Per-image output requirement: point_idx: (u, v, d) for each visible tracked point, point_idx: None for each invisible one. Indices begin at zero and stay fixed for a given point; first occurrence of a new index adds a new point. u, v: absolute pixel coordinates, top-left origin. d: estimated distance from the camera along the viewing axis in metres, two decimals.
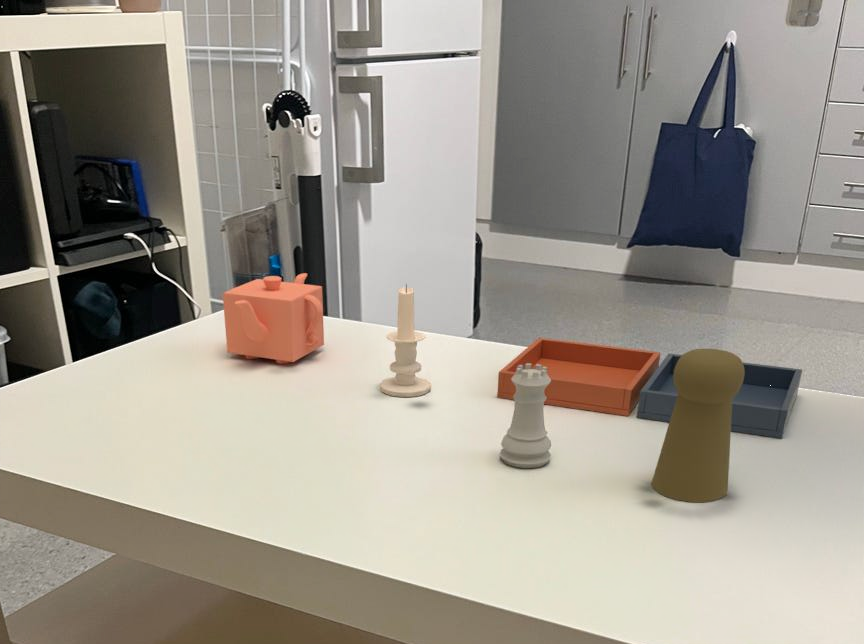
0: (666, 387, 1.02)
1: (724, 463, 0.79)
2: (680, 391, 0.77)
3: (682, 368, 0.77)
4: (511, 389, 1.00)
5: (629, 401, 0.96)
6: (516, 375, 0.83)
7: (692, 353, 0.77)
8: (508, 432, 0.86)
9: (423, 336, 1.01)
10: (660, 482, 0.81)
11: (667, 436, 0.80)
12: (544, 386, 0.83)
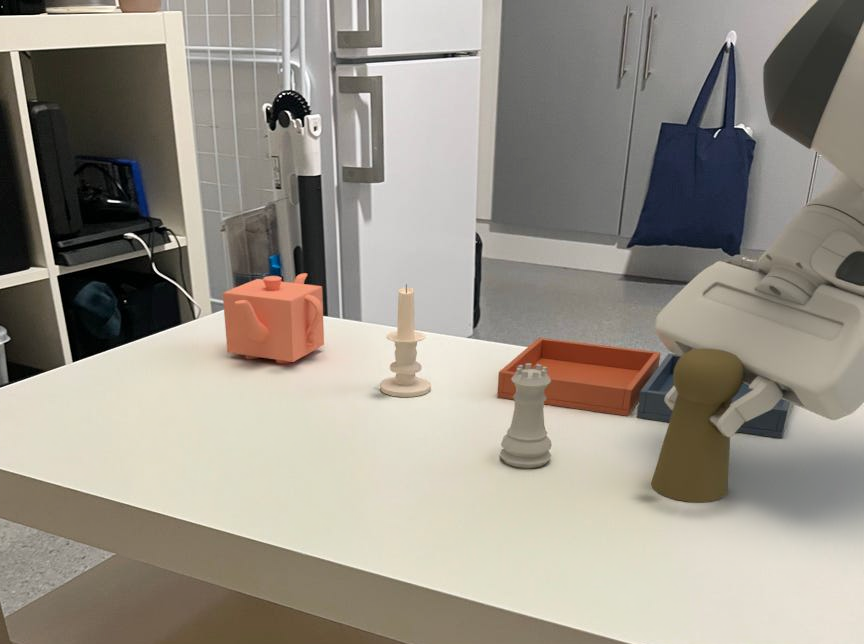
0: (666, 387, 1.02)
1: (723, 463, 0.79)
2: (680, 391, 0.77)
3: (682, 368, 0.77)
4: (511, 389, 1.00)
5: (629, 401, 0.96)
6: (516, 375, 0.83)
7: (692, 353, 0.77)
8: (508, 432, 0.86)
9: (423, 336, 1.01)
10: (660, 482, 0.81)
11: (667, 436, 0.80)
12: (544, 386, 0.83)
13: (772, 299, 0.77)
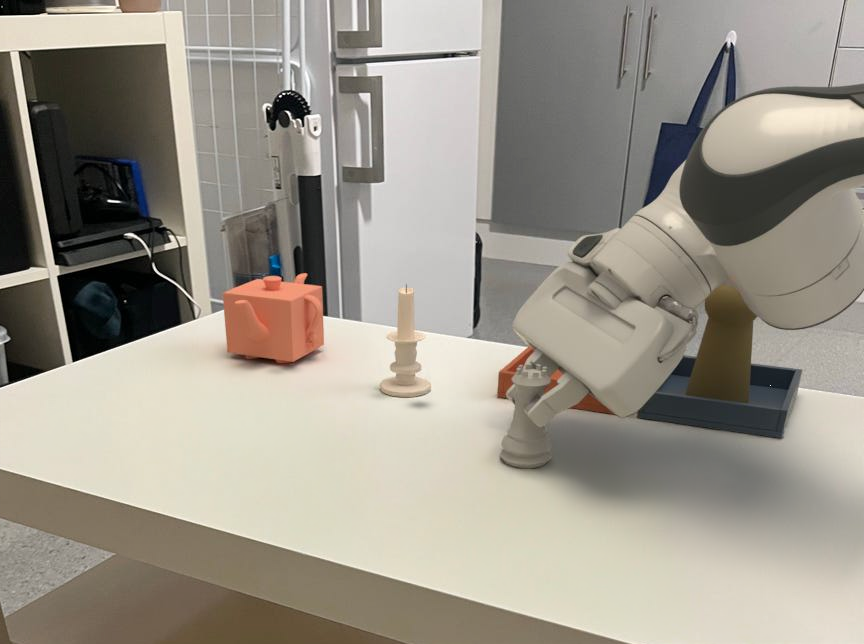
0: (666, 387, 1.02)
1: (746, 376, 0.96)
2: (710, 315, 0.94)
3: (712, 295, 0.93)
4: None
5: None
6: (516, 375, 0.83)
7: None
8: (508, 432, 0.86)
9: (423, 336, 1.01)
10: (693, 393, 0.98)
11: (699, 354, 0.97)
12: (544, 386, 0.83)
13: None
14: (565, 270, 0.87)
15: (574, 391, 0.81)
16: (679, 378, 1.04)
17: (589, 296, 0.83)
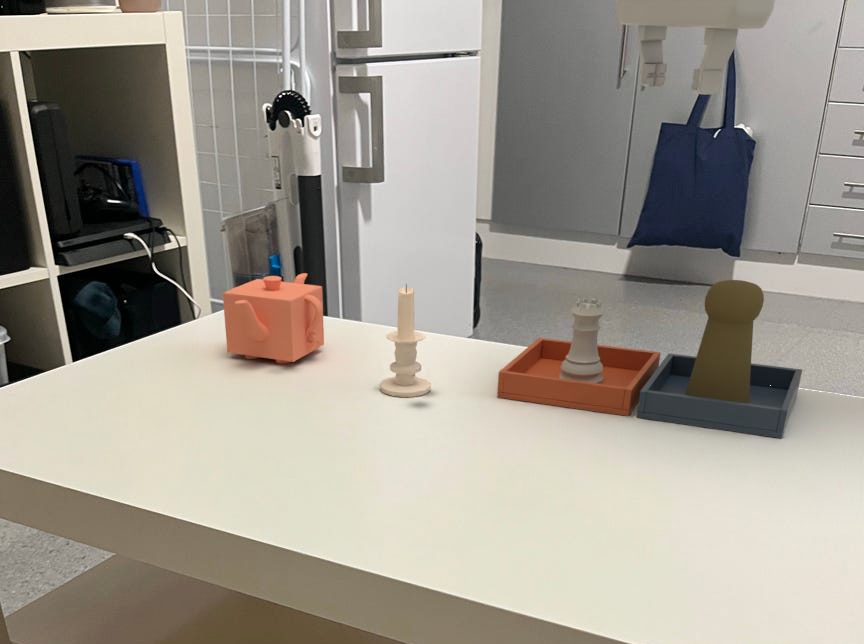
0: (666, 387, 1.02)
1: (746, 376, 0.96)
2: (710, 315, 0.94)
3: (712, 295, 0.93)
4: (511, 389, 1.00)
5: (629, 401, 0.96)
6: (575, 307, 0.99)
7: (720, 283, 0.94)
8: (567, 357, 1.02)
9: (423, 336, 1.01)
10: (693, 393, 0.98)
11: (699, 354, 0.97)
12: (599, 316, 0.99)
13: None
14: None
15: (725, 38, 0.79)
16: (679, 378, 1.04)
17: None
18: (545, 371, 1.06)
